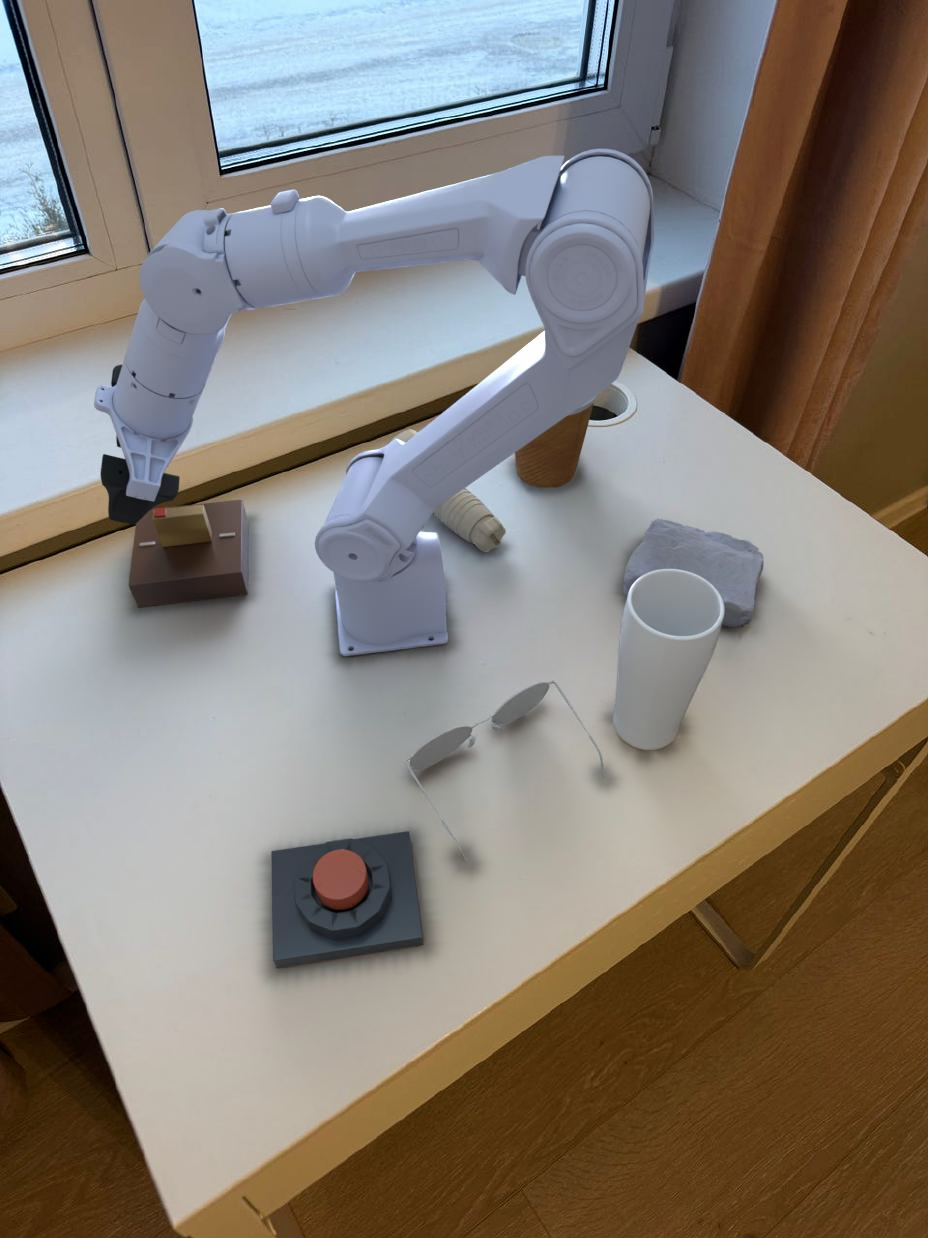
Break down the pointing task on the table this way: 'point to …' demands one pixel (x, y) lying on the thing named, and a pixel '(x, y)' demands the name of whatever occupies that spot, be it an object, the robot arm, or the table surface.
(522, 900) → the table surface
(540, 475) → the disposable coffee cup
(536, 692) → the sunglasses
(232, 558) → the plate
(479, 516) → the handle
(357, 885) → the bell button
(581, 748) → the table surface
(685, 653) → the drinking glass
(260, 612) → the table surface
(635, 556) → the stone block
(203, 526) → the thumbturn
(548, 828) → the table surface
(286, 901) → the block
